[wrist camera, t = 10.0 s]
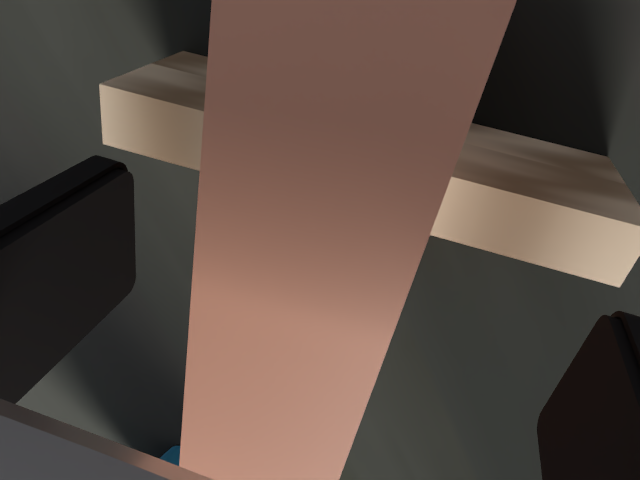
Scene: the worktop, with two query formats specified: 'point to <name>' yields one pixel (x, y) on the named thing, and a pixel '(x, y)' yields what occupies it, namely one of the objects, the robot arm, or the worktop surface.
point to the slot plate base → (462, 192)
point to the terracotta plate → (317, 214)
